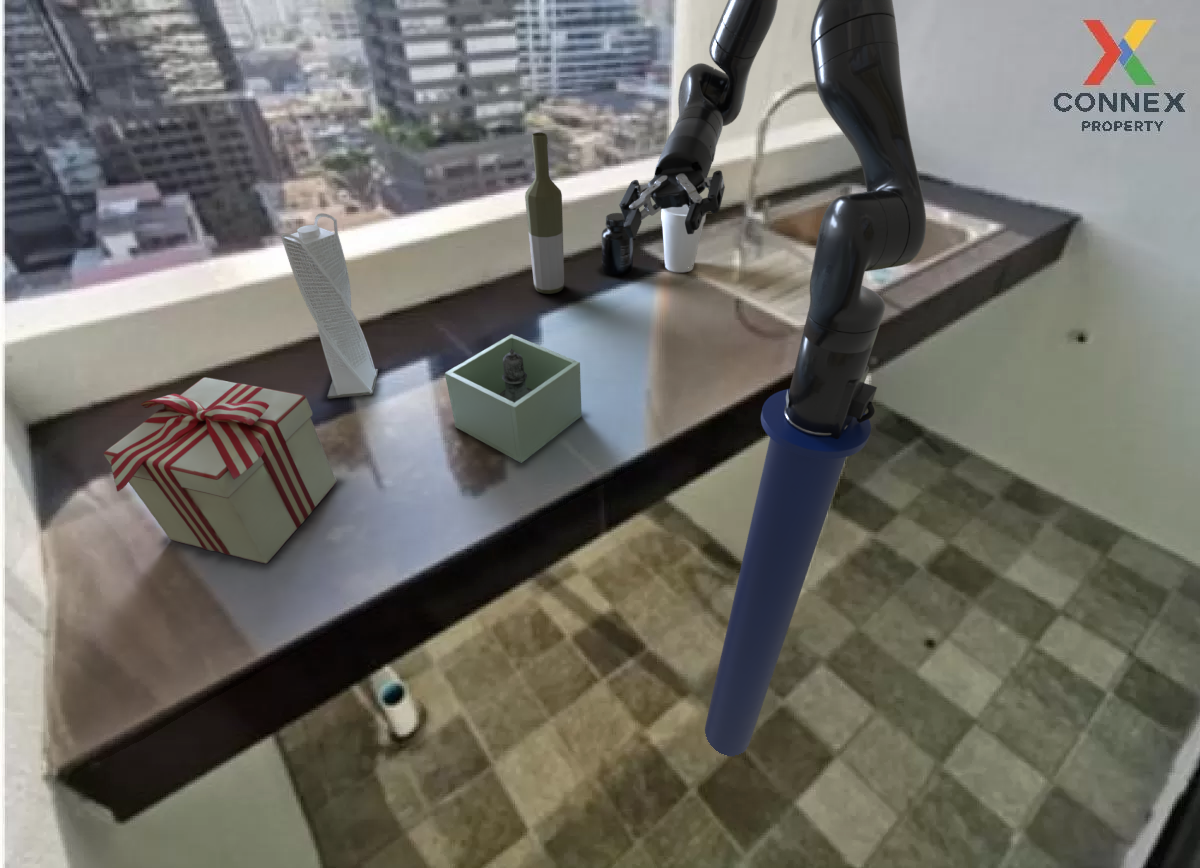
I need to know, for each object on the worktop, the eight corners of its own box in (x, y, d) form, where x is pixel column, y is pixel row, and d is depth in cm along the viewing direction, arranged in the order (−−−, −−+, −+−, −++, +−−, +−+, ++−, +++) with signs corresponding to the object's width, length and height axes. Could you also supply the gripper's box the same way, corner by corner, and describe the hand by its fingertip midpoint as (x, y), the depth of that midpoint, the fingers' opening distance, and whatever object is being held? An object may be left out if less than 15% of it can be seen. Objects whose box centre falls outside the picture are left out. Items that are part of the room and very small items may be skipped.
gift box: (142, 567, 71) (57, 458, 60) (241, 463, 85) (187, 359, 74) (273, 588, 69) (209, 478, 58) (352, 478, 83) (314, 372, 72)
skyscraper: (386, 370, 103) (341, 204, 86) (381, 397, 97) (330, 225, 79) (335, 374, 102) (279, 208, 85) (326, 402, 96) (263, 229, 78)
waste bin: (581, 416, 93) (580, 362, 87) (521, 463, 85) (514, 407, 79) (517, 386, 99) (511, 333, 93) (455, 427, 91) (444, 372, 85)
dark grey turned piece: (523, 433, 89) (516, 364, 81) (491, 421, 91) (481, 353, 83) (546, 412, 93) (540, 344, 85) (514, 401, 95) (507, 334, 87)
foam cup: (686, 279, 130) (691, 219, 122) (650, 268, 135) (653, 209, 127) (707, 264, 136) (714, 206, 128) (672, 254, 141) (677, 197, 132)
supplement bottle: (630, 263, 137) (632, 210, 129) (634, 276, 132) (635, 221, 124) (600, 264, 137) (600, 211, 129) (602, 277, 131) (602, 222, 124)
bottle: (572, 290, 127) (566, 134, 108) (545, 300, 123) (534, 141, 104) (553, 278, 131) (544, 127, 112) (526, 288, 128) (512, 133, 108)
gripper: (635, 141, 90) (602, 212, 82) (730, 127, 84) (704, 203, 76) (649, 184, 96) (619, 255, 88) (738, 174, 89) (714, 250, 82)
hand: (658, 231), depth 82 cm, fingers open, 8 cm apart
